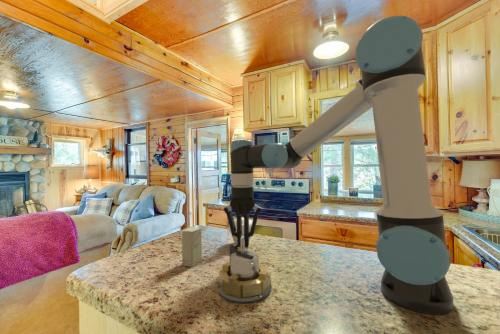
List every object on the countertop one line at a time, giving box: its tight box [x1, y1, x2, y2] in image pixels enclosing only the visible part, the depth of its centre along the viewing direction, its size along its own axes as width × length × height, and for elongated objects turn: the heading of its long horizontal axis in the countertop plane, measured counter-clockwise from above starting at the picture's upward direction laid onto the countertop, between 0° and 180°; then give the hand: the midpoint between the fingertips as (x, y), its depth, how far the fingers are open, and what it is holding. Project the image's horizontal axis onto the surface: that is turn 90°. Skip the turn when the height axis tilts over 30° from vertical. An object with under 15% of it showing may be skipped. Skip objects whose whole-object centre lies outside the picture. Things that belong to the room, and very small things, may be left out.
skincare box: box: [181, 226, 203, 268], centre depth 82 cm, size 6×4×12 cm
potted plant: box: [228, 217, 253, 244], centre depth 102 cm, size 13×12×25 cm
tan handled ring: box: [218, 243, 272, 298], centre depth 68 cm, size 21×14×7 cm, turn 18°
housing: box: [217, 250, 273, 305], centre depth 64 cm, size 15×15×10 cm
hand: (243, 256), depth 76 cm, fingers closed
